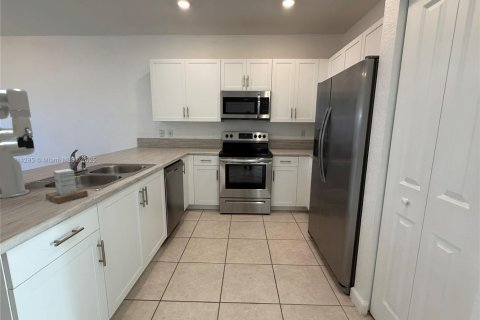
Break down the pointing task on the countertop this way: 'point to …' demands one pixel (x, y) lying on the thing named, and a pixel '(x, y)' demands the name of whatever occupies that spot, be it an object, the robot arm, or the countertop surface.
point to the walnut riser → (66, 196)
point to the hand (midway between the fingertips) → (26, 147)
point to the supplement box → (65, 181)
